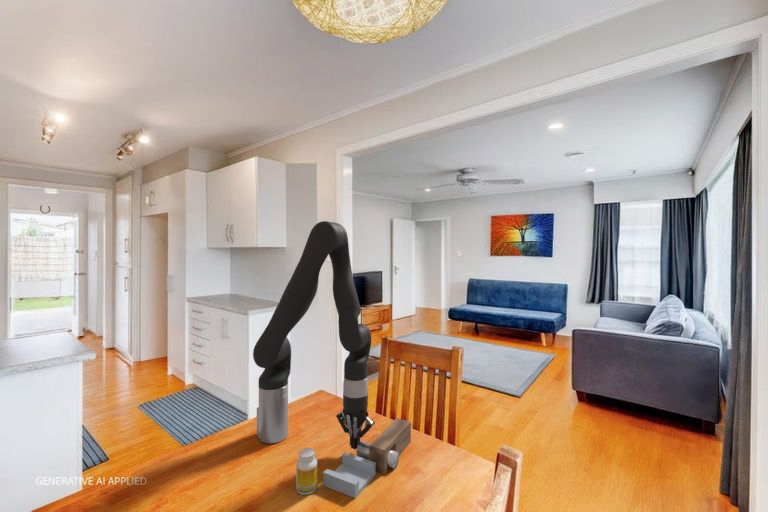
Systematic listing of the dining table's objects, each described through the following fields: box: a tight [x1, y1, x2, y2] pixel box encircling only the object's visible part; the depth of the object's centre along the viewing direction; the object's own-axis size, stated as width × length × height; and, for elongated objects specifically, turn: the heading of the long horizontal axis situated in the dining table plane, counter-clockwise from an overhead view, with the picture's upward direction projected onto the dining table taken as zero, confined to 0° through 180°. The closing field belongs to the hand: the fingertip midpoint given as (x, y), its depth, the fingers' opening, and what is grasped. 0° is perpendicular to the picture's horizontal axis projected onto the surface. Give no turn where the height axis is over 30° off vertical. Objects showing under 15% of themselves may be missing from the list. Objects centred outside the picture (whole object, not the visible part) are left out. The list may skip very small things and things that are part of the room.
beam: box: [369, 417, 412, 474], centre depth 106 cm, size 5×18×7 cm, turn 152°
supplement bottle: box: [295, 447, 318, 496], centre depth 91 cm, size 5×5×10 cm
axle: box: [355, 440, 400, 469], centre depth 102 cm, size 12×4×4 cm, turn 62°
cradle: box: [322, 451, 377, 499], centre depth 94 cm, size 10×10×4 cm
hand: (354, 447), depth 106 cm, fingers closed
